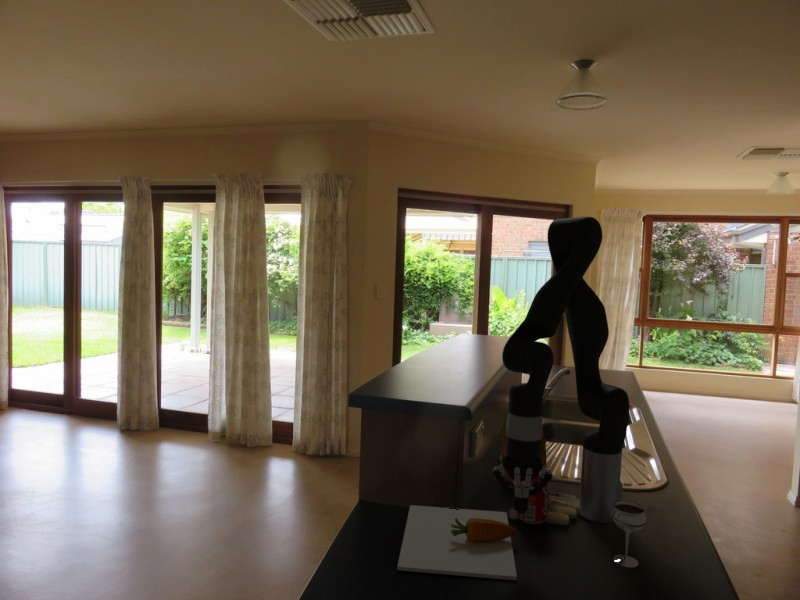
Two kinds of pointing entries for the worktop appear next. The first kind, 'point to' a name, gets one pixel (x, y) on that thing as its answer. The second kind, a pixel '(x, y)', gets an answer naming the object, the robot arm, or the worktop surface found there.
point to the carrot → (483, 530)
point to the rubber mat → (453, 545)
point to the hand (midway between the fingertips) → (520, 512)
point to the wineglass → (628, 525)
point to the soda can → (535, 505)
